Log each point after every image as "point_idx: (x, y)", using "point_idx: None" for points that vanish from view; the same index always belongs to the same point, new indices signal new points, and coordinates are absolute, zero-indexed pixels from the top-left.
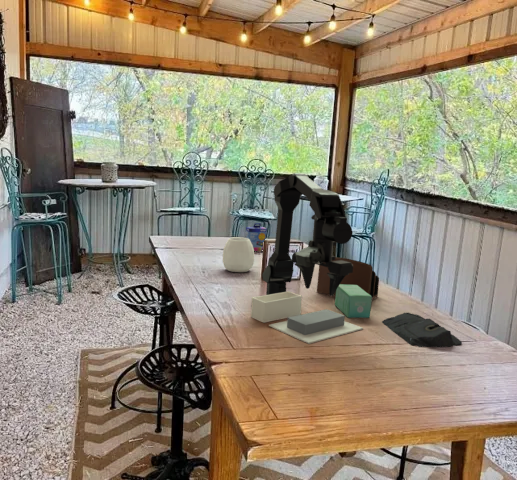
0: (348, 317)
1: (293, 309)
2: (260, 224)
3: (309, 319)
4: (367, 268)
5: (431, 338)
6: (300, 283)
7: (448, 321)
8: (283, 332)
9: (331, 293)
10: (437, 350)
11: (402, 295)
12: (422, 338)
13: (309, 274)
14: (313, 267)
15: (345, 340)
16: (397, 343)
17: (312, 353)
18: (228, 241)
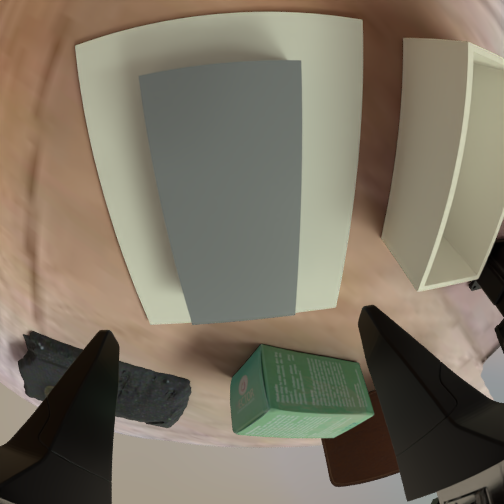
0: (260, 345)
1: (402, 216)
2: None
3: (210, 154)
4: (341, 477)
5: (21, 364)
6: (476, 356)
7: (155, 433)
8: (250, 13)
9: (88, 348)
10: (11, 344)
11: (301, 444)
12: (32, 358)
13: (403, 416)
14: (405, 475)
15: (68, 210)
16: (40, 317)
17: (11, 25)
18: None
